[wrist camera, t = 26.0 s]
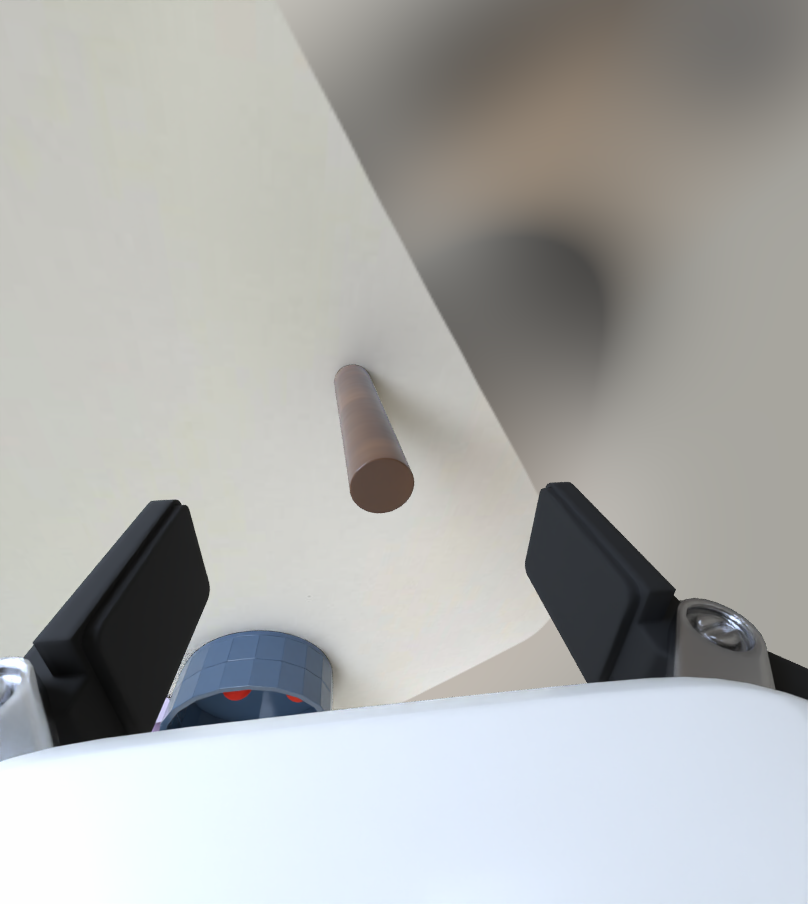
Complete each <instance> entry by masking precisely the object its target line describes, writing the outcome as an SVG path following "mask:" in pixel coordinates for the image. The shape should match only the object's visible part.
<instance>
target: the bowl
mask: <svg viewBox="0 0 808 904" xmlns="http://www.w3.org/2000/svg"><path fill="white" fill-rule="evenodd" d="M241 690H251V692H250V693H249V694H248V695H247V696H246V697H245V698H243V699H241V700H236V701H235V700H230V699H228V698H226V697H225V696H224V694H223V693H224V692H233V691H241ZM286 695H289V696H293V697H296V698H299V699H301V700H302V702H293V701H291V700H290V699H289V698H288V697H287V696H286ZM332 703H333V672H332V667H331V664H330V662H329V660H328V658H327V657H326V655H325V654H324V653H323V652H322V651H321V650H320V649H319V648H317V647H316V646H315V645H313V644H311V643H310V642H308V641H306V640H304V639H302V638H299V637H296V636H293V635H290V634H285V633H281V632H273V631H247V632H240V633H235V634H230V635H226V636H223V637H220V638H218V639H215V640H213V641H211V642H209V643H207V644H206V645H204V646H202V647H201V648H199V649H198V650H197V651H196V652H194V654H193V655H192V656H191V657H190V658H189V659H188V661H187V662H186V664H185V666H184V668H183V669H182V671H181V673H180V675H179V678H178V681H177V683H176V686H175V688H174V691H173V693H172V696H171V698H170V701H169V703H168V706H167V709H166V711H165V714H164V716H163V719H162V721H161V724H160V729H159V731H163V730H171V729H179V728H186V727H194V726H202V725H211V724H220V723H228V722H237V721H246V720H254V719H263V718H272V717H280V716H289V715H297V714H306V713H315V712H323V711H332Z"/></svg>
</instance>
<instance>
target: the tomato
mask: <svg viewBox="0 0 808 904" xmlns="http://www.w3.org/2000/svg"><path fill="white" fill-rule="evenodd" d="M250 692H251V690H241V691H233V692H224V693H223V694H224V696H225V697H226V698H228V699H230V700H235V701H236V700H241V699H243V698H245V697H246V696H247V695H248V694H249V693H250Z"/></svg>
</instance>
